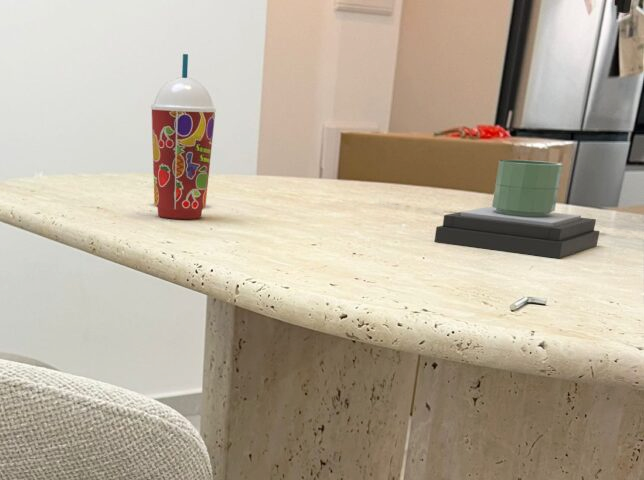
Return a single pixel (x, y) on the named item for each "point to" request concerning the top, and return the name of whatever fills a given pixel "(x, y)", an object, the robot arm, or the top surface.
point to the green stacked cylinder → (526, 188)
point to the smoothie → (182, 146)
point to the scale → (518, 235)
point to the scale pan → (551, 220)
